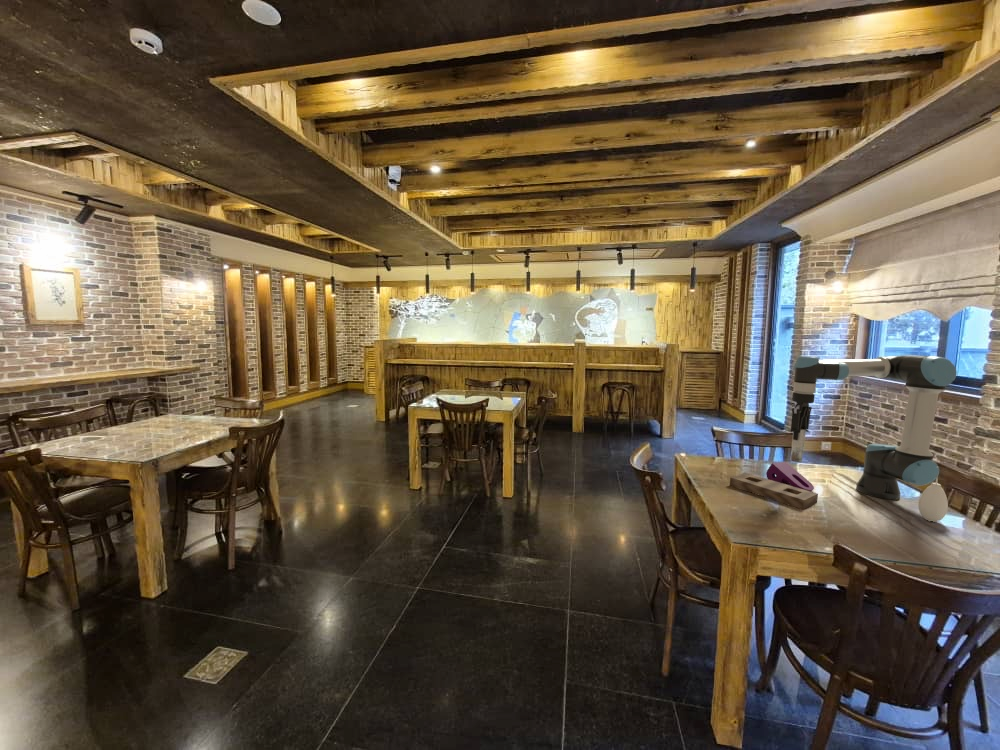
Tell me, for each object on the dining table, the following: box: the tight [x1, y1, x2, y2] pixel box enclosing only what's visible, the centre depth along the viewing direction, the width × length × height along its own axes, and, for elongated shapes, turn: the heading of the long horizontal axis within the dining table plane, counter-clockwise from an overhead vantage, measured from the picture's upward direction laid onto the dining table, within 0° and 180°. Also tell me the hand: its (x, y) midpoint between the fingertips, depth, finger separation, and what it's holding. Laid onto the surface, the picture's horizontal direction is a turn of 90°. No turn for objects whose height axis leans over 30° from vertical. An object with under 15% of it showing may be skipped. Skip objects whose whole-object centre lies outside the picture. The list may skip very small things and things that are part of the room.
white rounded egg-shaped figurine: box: [918, 477, 949, 523], centre depth 162 cm, size 8×8×18 cm
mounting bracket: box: [765, 461, 815, 492], centre depth 197 cm, size 9×8×18 cm
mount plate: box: [729, 472, 819, 510], centre depth 186 cm, size 30×14×4 cm, turn 34°
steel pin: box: [790, 429, 806, 463], centre depth 177 cm, size 4×4×14 cm
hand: (797, 446), depth 177 cm, fingers closed on steel pin, 4 cm apart
